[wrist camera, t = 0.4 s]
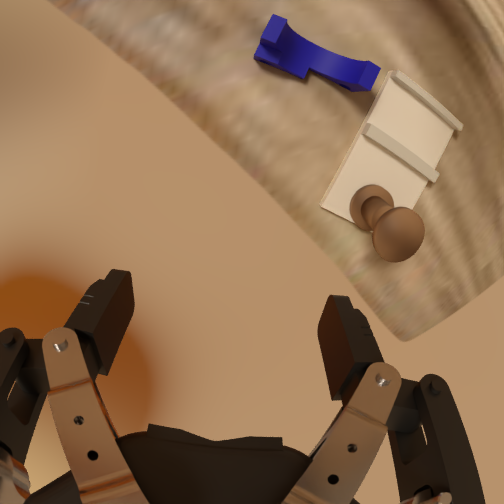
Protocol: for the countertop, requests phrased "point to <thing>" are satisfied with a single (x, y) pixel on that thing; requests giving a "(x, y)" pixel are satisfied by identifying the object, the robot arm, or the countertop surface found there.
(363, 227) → the walnut knob
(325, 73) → the cable clip
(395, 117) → the ridged board
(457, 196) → the countertop surface
